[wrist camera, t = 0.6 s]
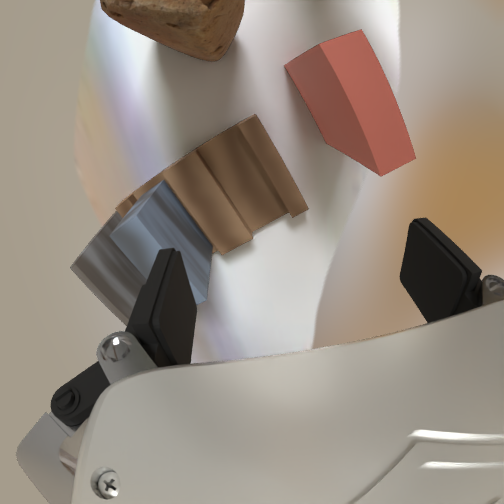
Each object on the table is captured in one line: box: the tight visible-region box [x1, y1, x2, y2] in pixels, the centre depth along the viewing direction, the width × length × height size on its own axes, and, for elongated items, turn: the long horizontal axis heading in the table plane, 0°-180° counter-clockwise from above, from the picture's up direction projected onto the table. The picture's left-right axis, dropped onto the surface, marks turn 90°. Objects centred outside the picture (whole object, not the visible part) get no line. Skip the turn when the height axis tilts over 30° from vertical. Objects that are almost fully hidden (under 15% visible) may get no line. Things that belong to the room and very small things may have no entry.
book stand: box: [70, 114, 309, 326], centre depth 32 cm, size 23×14×16 cm, turn 120°
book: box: [284, 29, 416, 176], centre depth 25 cm, size 4×12×16 cm, turn 30°
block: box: [100, 0, 245, 61], centre depth 18 cm, size 11×8×20 cm
